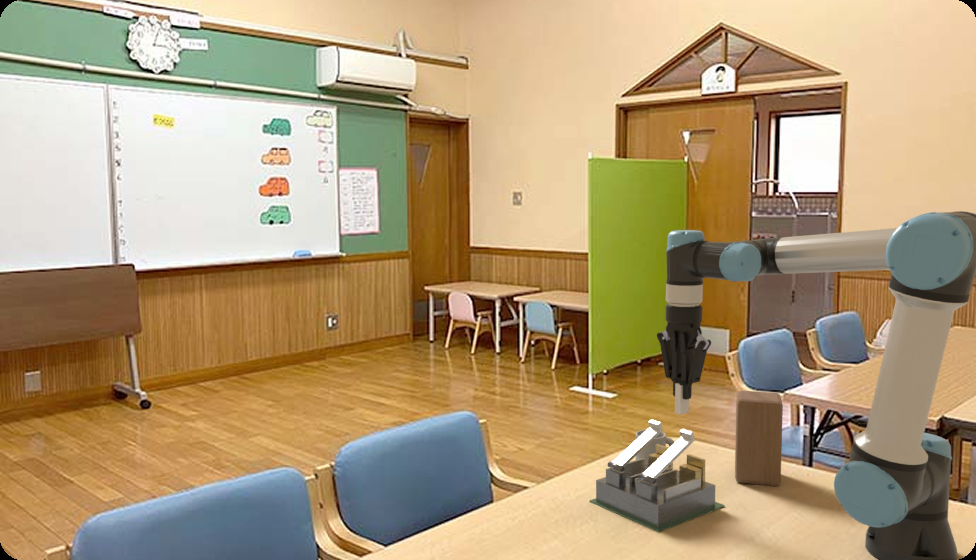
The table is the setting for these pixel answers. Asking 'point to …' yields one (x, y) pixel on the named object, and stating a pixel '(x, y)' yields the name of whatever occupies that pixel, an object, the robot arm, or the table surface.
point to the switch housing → (658, 492)
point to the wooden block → (758, 438)
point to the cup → (652, 445)
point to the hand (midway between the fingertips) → (681, 412)
